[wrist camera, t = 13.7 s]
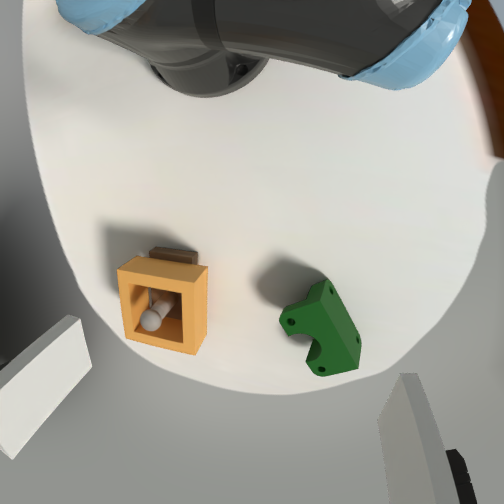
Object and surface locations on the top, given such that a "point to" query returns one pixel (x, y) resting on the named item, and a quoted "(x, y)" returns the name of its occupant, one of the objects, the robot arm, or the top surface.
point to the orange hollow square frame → (171, 279)
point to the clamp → (324, 330)
